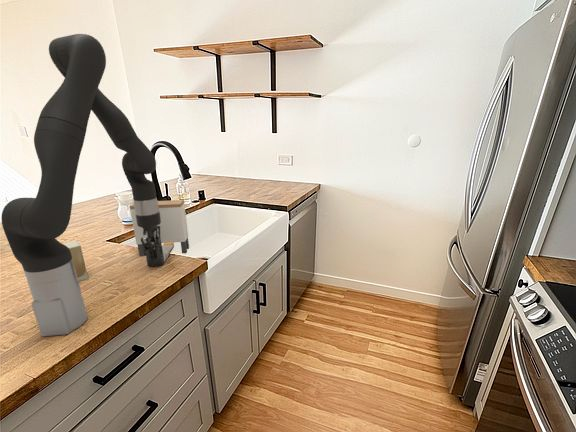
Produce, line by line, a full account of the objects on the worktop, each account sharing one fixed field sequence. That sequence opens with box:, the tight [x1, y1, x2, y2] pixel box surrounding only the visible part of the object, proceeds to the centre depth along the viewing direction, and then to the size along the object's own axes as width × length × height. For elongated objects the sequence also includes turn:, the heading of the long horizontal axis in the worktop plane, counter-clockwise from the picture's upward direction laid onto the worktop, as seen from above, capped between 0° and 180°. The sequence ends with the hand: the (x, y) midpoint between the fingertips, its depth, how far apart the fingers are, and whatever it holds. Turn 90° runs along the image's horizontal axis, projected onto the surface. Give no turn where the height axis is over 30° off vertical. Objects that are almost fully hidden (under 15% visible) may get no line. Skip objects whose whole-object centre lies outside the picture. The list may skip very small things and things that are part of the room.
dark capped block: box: [145, 237, 175, 267], centre depth 111 cm, size 16×5×10 cm, turn 6°
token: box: [162, 242, 175, 246], centre depth 122 cm, size 4×4×1 cm
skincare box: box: [62, 239, 89, 283], centre depth 96 cm, size 6×4×12 cm
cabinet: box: [129, 199, 190, 257], centre depth 114 cm, size 6×18×20 cm, turn 97°
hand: (155, 257), depth 105 cm, fingers closed on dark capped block, 2 cm apart
